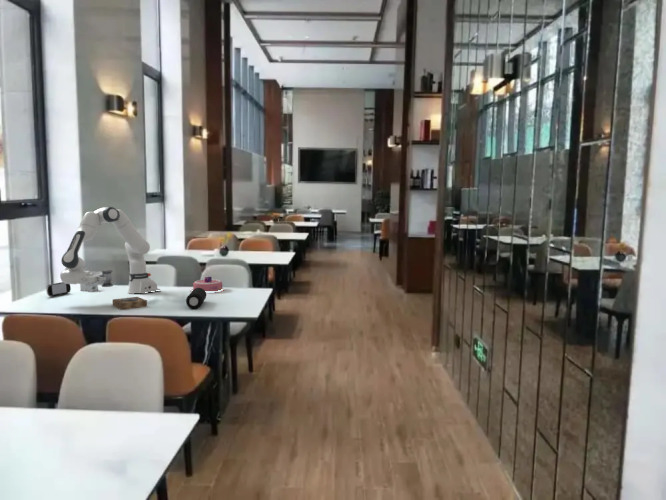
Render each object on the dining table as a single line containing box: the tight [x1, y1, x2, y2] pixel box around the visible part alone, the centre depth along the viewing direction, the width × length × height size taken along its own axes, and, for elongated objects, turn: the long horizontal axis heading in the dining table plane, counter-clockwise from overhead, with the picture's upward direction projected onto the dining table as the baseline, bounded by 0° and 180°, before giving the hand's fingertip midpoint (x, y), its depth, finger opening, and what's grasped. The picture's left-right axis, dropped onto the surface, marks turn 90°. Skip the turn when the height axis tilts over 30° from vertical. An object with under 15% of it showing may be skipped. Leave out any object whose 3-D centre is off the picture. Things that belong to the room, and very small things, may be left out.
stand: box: [112, 296, 148, 310], centre depth 357 cm, size 16×16×4 cm
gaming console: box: [45, 282, 72, 298], centre depth 391 cm, size 19×9×2 cm
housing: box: [101, 269, 114, 288], centre depth 360 cm, size 7×7×10 cm
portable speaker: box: [185, 288, 207, 309], centre depth 361 cm, size 26×10×10 cm, turn 5°
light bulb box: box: [79, 281, 99, 292], centre depth 411 cm, size 11×7×11 cm, turn 71°
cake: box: [192, 276, 223, 291], centre depth 414 cm, size 25×25×11 cm
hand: (108, 277), depth 360 cm, fingers closed on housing, 5 cm apart
